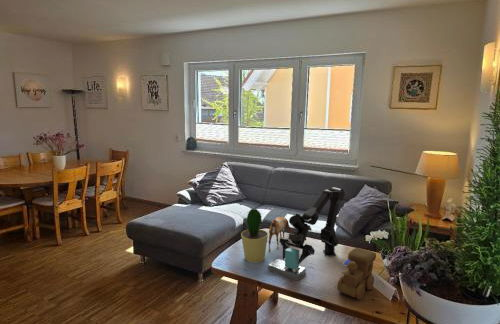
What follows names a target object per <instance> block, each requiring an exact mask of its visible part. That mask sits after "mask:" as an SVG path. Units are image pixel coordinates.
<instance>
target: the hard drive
mask: <svg viewBox="0 0 500 324" xmlns="http://www.w3.org/2000/svg"><path fill="white" fill-rule="evenodd" d="M349 262H350V260H349V259H348V258H347V259H346V261H344V262H343V263H342V265H343V267H346V268H348V267H347V264H348V263H349Z"/></svg>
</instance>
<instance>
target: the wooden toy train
mask: <svg viewBox="0 0 500 324" xmlns="http://www.w3.org/2000/svg"><path fill="white" fill-rule="evenodd" d="M347 259H349V260H350V262H349V263H348V264H347V267H346V268H347V270H346V271H345V272H344V273H343V275H342V276H341V277H339V279H338V281H337V285H336V286H337V290H338V292H340V293H342V294H344V295H347V296H349V297H352V298H356V299H357V300H362V299H363V298H364V296H365V291H366V290H367V291H368V290H372V288H373V287H374V284H375V278H374V277H375V276H373V274H372V273H373V267H374V262H375V261H376V259H377V253H376V252H373V251H371V250H368V249H366V248H365V249H364V248H359V247H355V248H353V249H352V250H350V251H349V252H348V255H347Z"/></svg>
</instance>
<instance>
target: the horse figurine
mask: <svg viewBox="0 0 500 324" xmlns="http://www.w3.org/2000/svg"><path fill="white" fill-rule="evenodd" d="M270 224H271V225H270V226H269V229H268V252H269V253H271V252H272V249H271V242H272V238H273V236H274V235H275V238H276V239H275V240H276V250H279V249H280V248H279V243H280V242H279V240H280V239H281V238H285V233H286V232H285V230H287V231H288V233H292V232H293V228H291V227H290V223H289V220H288V219H287V218H286V217H284V216H283V217H282V216H277V217H276V218H274V219H273V220H272V221H271V223H270Z"/></svg>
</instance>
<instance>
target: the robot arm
mask: <svg viewBox="0 0 500 324" xmlns="http://www.w3.org/2000/svg"><path fill="white" fill-rule="evenodd" d="M345 195H346V194H345V191H344V189H343V188H338V187H335V186H333V187H331V188H327V189H324V190H322V192H321V195H320V196H319V197H318V199H317V200H316V202H315V203H314V205H312V207H311V208H309V209H306V211H305V212H304V213H303V214H299V213H295V214H294V215H292V216H290V217H289V220H288V223H289V225H291V226H292V227H293V228H294V229H295V230H296V231H295V232H294V233H291V232H288V233H289V234H288V238H286V237H284V238H283V237H282V238H281V239H280V238H279V240H278V243H280V245H281V246H282V260H285V250H286V249H287V248H289V247H290V248H291V247H293V248H295V249H300V250H302V251H301V254H300V255H299V261H298V264H299V265H300V264H301V263H302V262H303V261H304V260H305V259H307V258H308V257H309V256H311V255H315V248H314V246H312V245H310V244H307V243H305V242H306V241H307V235H308V233H309V231H310V232H311V231H312V228H311V226H314V225H316V224H317V222H318V220H319V219H320V218H319V217H320V215H319V214H320V213H321V211H322V210H323V209H324V207H326V204H328V202H330V203H329V208H328V212H327V213H328V214H327V218H326V223H325V226H324V227H323V228H321V229H320V234H319V238H320V241H321V243H322V244H324V249H323V251H322V252H323V254H324V256H329V257H330V256H333V257H335V256H337V253H336V251H335V250H336V249H335V247H337V246H338V245H339V243H340V240H338V239H337V238H336V236H337V235H336V234H337V232H336V229H335V226H336V221H337V216H338V211H339V206H340V204H341V203H342V202H343V200H344V198H345Z"/></svg>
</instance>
